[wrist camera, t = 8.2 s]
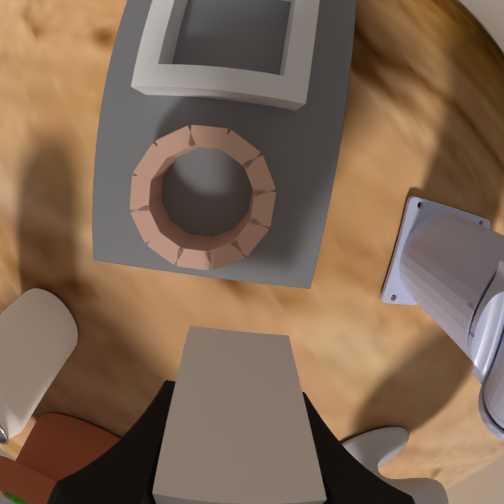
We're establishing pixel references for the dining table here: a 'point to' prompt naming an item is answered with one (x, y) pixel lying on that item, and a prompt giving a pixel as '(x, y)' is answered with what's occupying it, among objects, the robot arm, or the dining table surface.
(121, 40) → the socket board
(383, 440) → the chalice
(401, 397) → the dining table surface
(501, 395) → the robot arm
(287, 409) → the square peg
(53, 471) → the potted cactus
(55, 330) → the can
